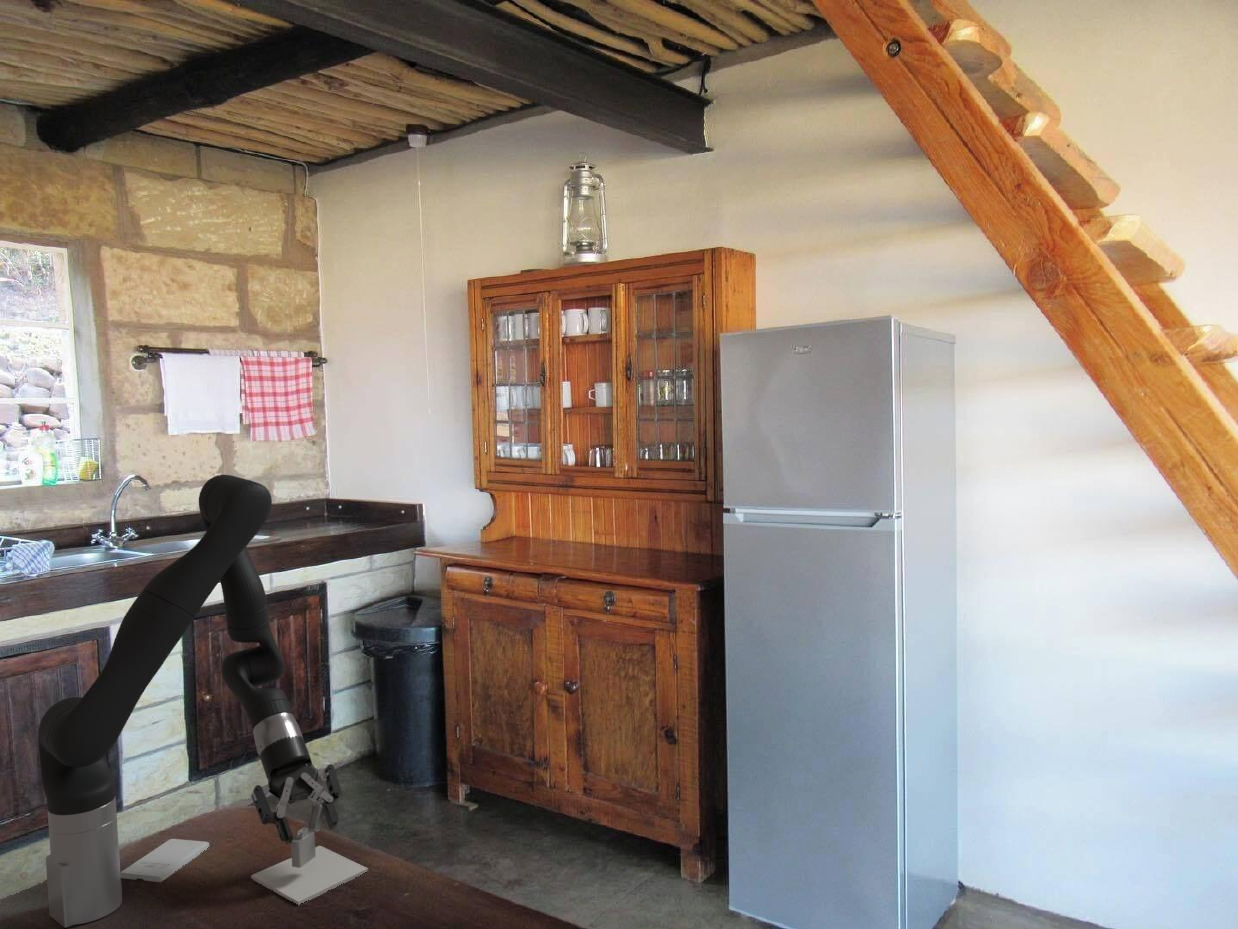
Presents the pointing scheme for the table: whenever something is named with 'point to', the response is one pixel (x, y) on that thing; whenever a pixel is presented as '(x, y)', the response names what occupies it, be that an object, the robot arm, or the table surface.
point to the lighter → (307, 838)
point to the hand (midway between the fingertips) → (312, 834)
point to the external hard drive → (164, 860)
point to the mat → (309, 875)
